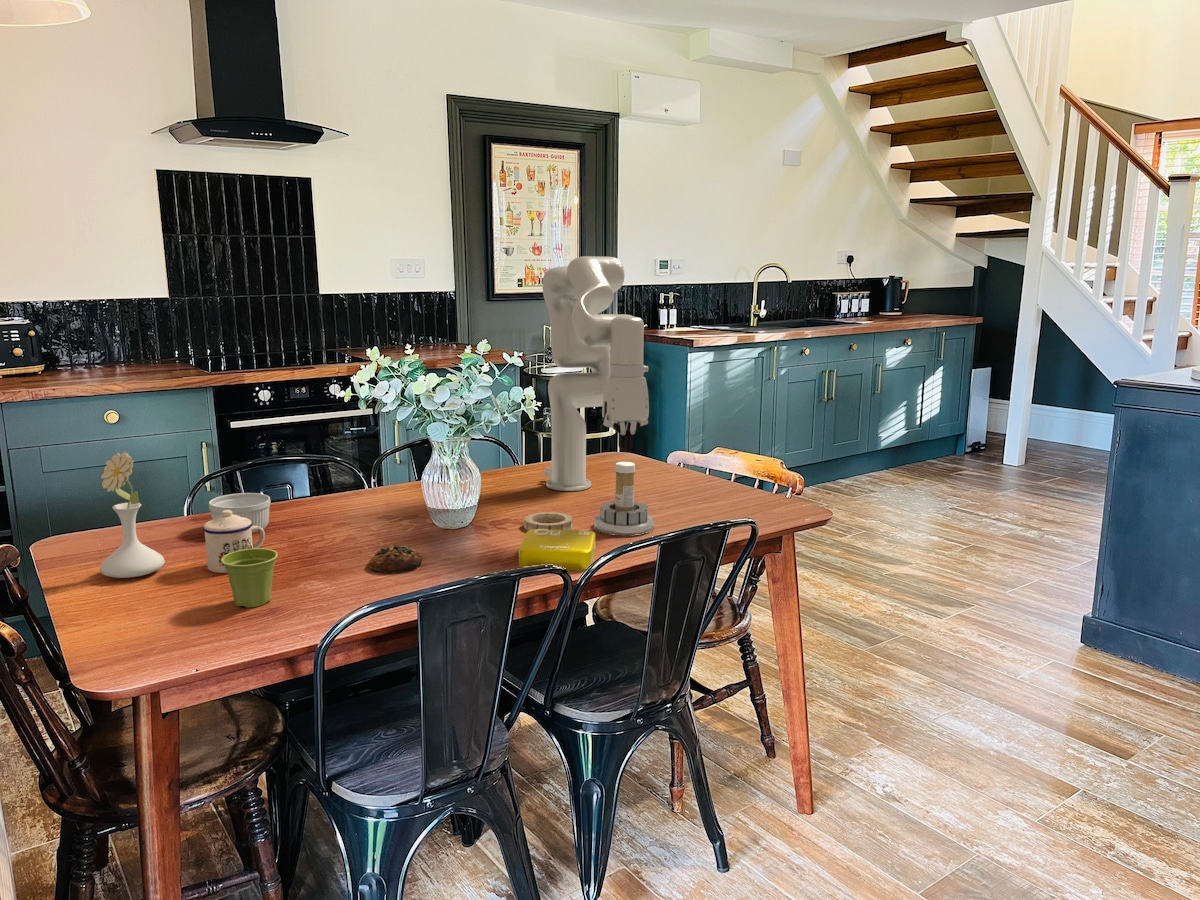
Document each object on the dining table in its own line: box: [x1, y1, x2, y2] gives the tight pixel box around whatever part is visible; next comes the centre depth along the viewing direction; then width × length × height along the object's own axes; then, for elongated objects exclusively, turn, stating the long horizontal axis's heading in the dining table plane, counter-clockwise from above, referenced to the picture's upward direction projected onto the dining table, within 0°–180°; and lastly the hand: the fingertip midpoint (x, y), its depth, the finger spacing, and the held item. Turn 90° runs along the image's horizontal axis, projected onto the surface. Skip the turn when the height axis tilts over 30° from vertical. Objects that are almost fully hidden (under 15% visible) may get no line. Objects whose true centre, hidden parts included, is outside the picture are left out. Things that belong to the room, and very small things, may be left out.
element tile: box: [518, 529, 597, 571], centre depth 186 cm, size 15×15×5 cm
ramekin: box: [208, 492, 272, 534], centre depth 203 cm, size 13×13×7 cm
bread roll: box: [368, 544, 424, 574], centre depth 180 cm, size 11×11×5 cm
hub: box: [593, 501, 655, 535], centre depth 207 cm, size 14×14×5 cm
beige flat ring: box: [523, 511, 574, 532], centre depth 208 cm, size 11×11×2 cm
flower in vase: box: [99, 451, 166, 579], centre depth 171 cm, size 13×11×25 cm
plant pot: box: [221, 547, 279, 608], centre depth 159 cm, size 9×9×9 cm
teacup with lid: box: [202, 510, 266, 574], centre depth 178 cm, size 12×9×12 cm
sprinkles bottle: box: [614, 461, 636, 511], centre depth 206 cm, size 5×5×14 cm
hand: (625, 450), depth 204 cm, fingers closed
